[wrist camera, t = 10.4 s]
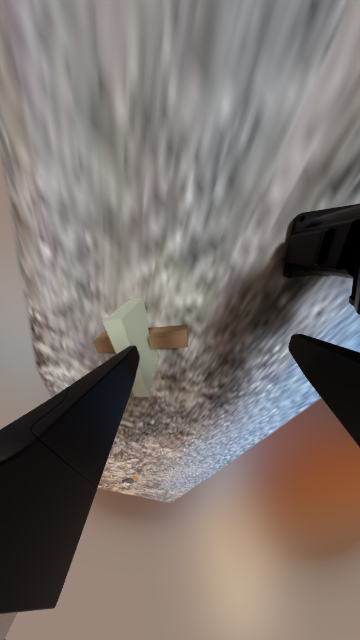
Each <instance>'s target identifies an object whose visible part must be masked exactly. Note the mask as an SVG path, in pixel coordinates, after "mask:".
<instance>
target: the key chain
mask: <svg viewBox="0 0 360 640" xmlns="http://www.w3.org/2000/svg"><path fill="white" fill-rule="evenodd" d="M138 478H140V477H135V476H133V478H127V479H125V480H122V483H123V484H124V485H130V484H131V483H133V482H134V481H136V479H138Z"/></svg>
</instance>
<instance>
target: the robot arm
mask: <svg viewBox="0 0 360 640" xmlns="http://www.w3.org/2000/svg"><path fill="white" fill-rule="evenodd" d="M300 217H302V220H301V221H300V220H299V219H300ZM285 261H286V263H285V268H284V273H283V276H284V277H286V278H292V277H301V276H310V275H319V274H326V275H332V276H339V277H345V278H351V279H353V286H352V294H351V296H350V297H349V303H350V304H352V305H353V306H354V307H355V309H356V312H357V313H358V314H360V204H356V205H349V206H343V207H337V208H330V209H324V210H318V211H311V212H305V213H301V214H299V215H297V216H296V218H295V220H294V224H293V229H292V234H291V237H290V239H289V244H288V249H287V254H286V259H285ZM288 272H290V274H289V275H287V274H288ZM289 351H290V353H291V354H292V356H293V358H294V359H295V361H296V362H297V364H298V366H299V367H300V369H301V370H302V372H303V374H304V375H305V377H306V378H307V379H308V381H309V382H310V383H311V385H312V386H313V387H314V388H315V390H316V391H317V392H318V394H319V395H320V396H321V398H322V399H323V400H324V402H325V403H326V404H327V405H328V407H329V408H330V409H331V411H332V412H333V413H334V415H335V416H336V417H337V418H338V420H339V421H340V422H341V424H342V425H343V426H344V428H345V429H346V430H347V431H348V433H349V434H350V435H351V437H352V438H353V439H354V441H355V442H356V443H357V444H358V446H359V447H360V353H359V352H356V351H353V350H350V349H347V348H344V347H341V346H337V345H334V344H331V343H328V342H325V341H322V340H319V339H316V338H313V337H310V336H306V335H303V334H294V335H292V336H291V340H290V343H289ZM139 360H140V355H139V352H138V349H137V347H136V346H135V345H134V346H128V347H127V348H125V349H124V350H122V351H121V352H119V353H118V354H116V355H115V356H113V357H112V358H110V359H109V360H107V361H106V362H104V363H103V364H101V365H100V366H98V367H97V368H96V369H94V370H93V371H91V372H90V373H88V374H87V375H85V376H84V377H82V378H81V379H79V380H78V381H76V382H75V383H73V384H72V385H71V386H69V387H67V388H66V389H64V390H63V391H61V392H60V393H58V394H57V395H55V396H54V397H52V398H51V399H49V400H48V401H46V402H45V403H43V404H41V405H40V406H38V407H36V408H35V409H33V410H32V411H30V412H28V413H27V414H25V415H23V416H22V417H20V418H19V419H17V420H15V421H14V422H12V423H10V424H9V425H7V426H6V427H4V428H2V429H1V430H0V640H5V637H6V635H7V633H8V631H9V629H10V627H11V624H12V623H13V620H14V618H15V616H16V614H17V612H23V611H34V610H43V609H52V608H55V606H56V604H57V601H58V599H59V596H60V593H61V591H62V588H63V585H64V582H65V579H66V576H67V573H68V571H69V568H70V565H71V562H72V559H73V556H74V553H75V551H76V548H77V545H78V542H79V539H80V536H81V534H82V531H83V528H84V525H85V522H86V519H87V516H88V513H89V511H90V508H91V505H92V502H93V499H94V496H95V493H96V491H97V487H98V485H99V482H100V479H101V476H102V473H103V470H104V467H105V465H106V462H107V459H108V456H109V453H110V450H111V448H112V445H113V442H114V439H115V436H116V433H117V430H118V428H119V425H120V422H121V419H122V416H123V413H124V410H125V408H126V405H127V402H128V399H129V396H130V393H131V390H132V388H133V385H134V381H135V377H136V373H137V369H138V365H139Z"/></svg>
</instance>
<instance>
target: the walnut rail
mask: <svg viewBox="0 0 360 640" xmlns="http://www.w3.org/2000/svg"><path fill="white" fill-rule="evenodd" d="M148 330H149V334H150V335H149V337H148V340H149V343H150V347H151V350H152V349H167V348H182V347H188V329H187V325H180V326H168V327H156V328H148ZM93 344H94V346H95V348H96V350H97V352H98V353H105V352H115V350H114V347H113V345H112V343H111V340H110V338H109V336H108V333H107V332H103V333H102V334H101V335H100V336H99V337H98V338H97V339H96V340H95V341H94V342H93Z"/></svg>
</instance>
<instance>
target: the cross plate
mask: <svg viewBox="0 0 360 640" xmlns="http://www.w3.org/2000/svg"><path fill="white" fill-rule="evenodd" d="M102 322H103V324H104V326H105V329H106V331H107V333H108V336H109V338H110V340H111V343H112V345H113V347H114V350H115V352H116V354H118V353H119V352H121V351H122V350H124V349H125V348H127V347H128V346H134V345H135V346H136V347H137V349H138V352H139V355H140V360H139V365H138V369H137V373H136V377H135V381H134V385H133V388H132V392H133V394H134V396H135V397H149V394H150V390H151V386H152V383H153V379H154V376H155V372H156V368H157V365H158V361H159V359H158V356H157V352H156V349H152V350H151V347H150V343H149V340H148V337H149V335H150V334H149V330H148V327H149V321H148V317H147V313H146V309H145V305H144V301H143V298H137V299H129V300H128V301H127V302H125V303H124V304H123V305H122V306H120V307H119V308H118V309H117V310H115V311H114V312H113V313H112V314H110V315H109V316H108V317H107V318H105V319H104V320H103V321H102Z"/></svg>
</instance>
